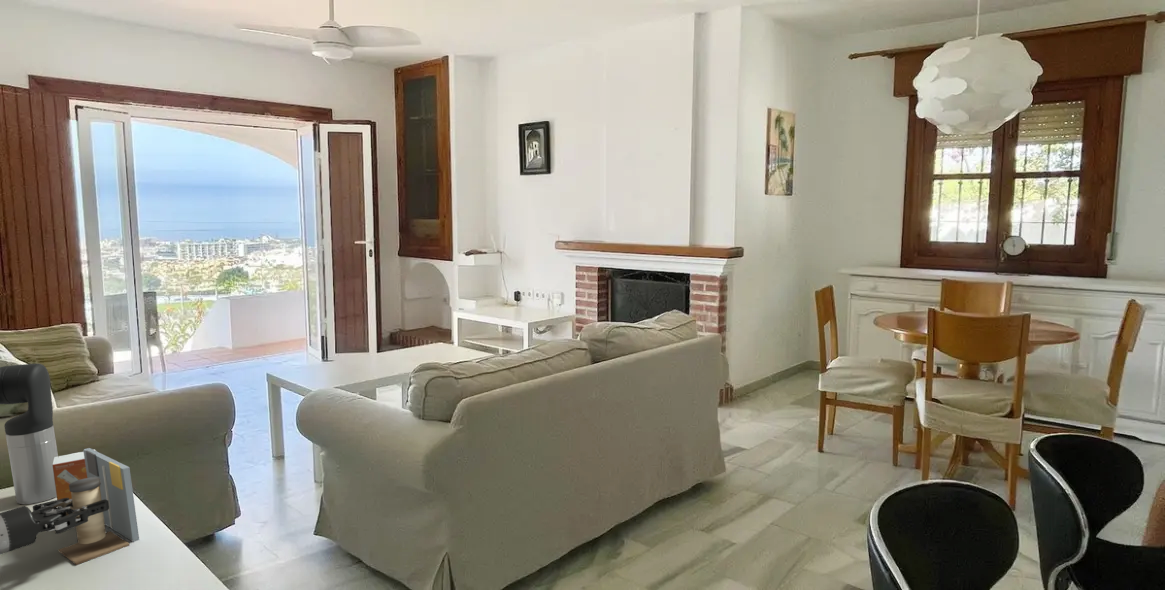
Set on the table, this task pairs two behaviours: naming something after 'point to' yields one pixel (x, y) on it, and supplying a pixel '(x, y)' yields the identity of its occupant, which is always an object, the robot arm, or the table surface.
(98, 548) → the walnut pad
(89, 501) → the post
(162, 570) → the table surface
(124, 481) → the panel
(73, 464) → the small box
